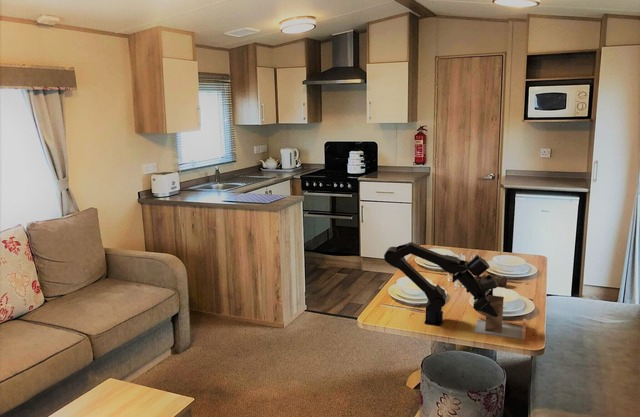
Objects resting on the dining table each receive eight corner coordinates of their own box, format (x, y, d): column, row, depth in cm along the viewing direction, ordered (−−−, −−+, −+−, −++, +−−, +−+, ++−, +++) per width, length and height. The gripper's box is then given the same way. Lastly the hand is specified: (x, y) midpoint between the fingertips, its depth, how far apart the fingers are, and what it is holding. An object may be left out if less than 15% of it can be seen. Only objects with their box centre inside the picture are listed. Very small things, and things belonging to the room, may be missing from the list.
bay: (473, 333, 204) (474, 323, 203) (477, 321, 215) (477, 312, 214) (525, 340, 196) (525, 331, 196) (525, 328, 207) (526, 318, 206)
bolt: (475, 285, 261) (506, 289, 253) (473, 283, 257) (504, 287, 249) (477, 274, 262) (507, 277, 255) (474, 272, 258) (505, 275, 250)
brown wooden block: (485, 330, 205) (486, 300, 202) (486, 324, 210) (487, 294, 208) (501, 333, 203) (502, 302, 200) (502, 326, 208) (503, 296, 205)
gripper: (483, 278, 195) (512, 309, 193) (487, 263, 211) (514, 292, 209) (461, 295, 199) (489, 325, 197) (467, 279, 216) (494, 307, 214)
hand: (497, 312), depth 204 cm, fingers open, 9 cm apart
